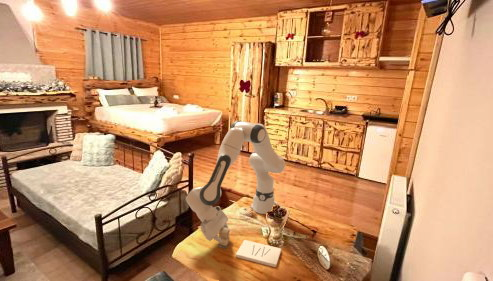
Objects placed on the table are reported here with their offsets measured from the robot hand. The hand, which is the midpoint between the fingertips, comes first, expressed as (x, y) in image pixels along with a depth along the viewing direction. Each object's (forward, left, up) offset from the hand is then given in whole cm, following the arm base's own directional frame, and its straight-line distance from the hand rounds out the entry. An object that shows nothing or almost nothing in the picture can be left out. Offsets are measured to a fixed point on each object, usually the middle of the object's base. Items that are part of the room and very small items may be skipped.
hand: (225, 237), depth 133 cm
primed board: (0, +18, -5) cm, 19 cm away
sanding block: (0, -1, -5) cm, 5 cm away
